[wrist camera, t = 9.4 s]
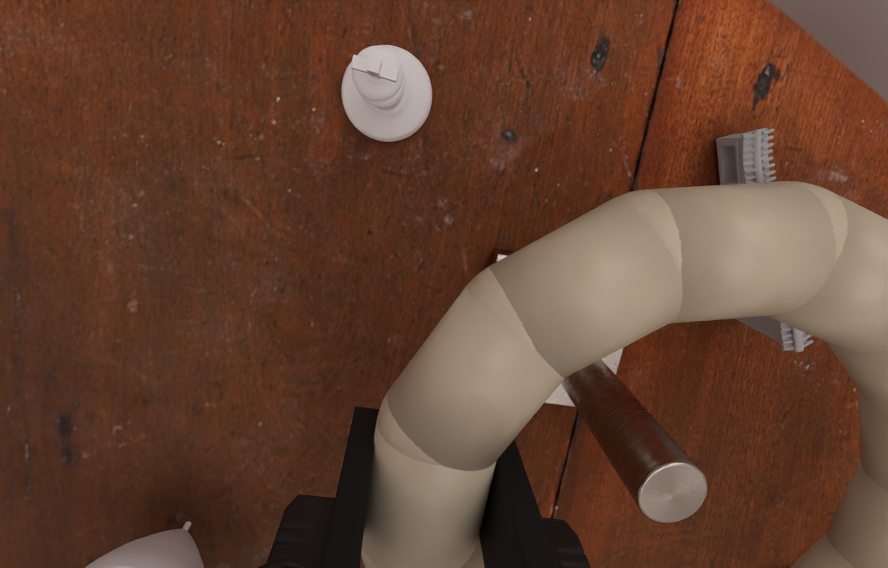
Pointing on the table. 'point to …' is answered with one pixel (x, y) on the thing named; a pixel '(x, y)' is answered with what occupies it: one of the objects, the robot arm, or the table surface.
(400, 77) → the chess piece
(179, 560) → the spinning top
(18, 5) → the table surface
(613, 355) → the stand
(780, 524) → the table surface
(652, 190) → the ring
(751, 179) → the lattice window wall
